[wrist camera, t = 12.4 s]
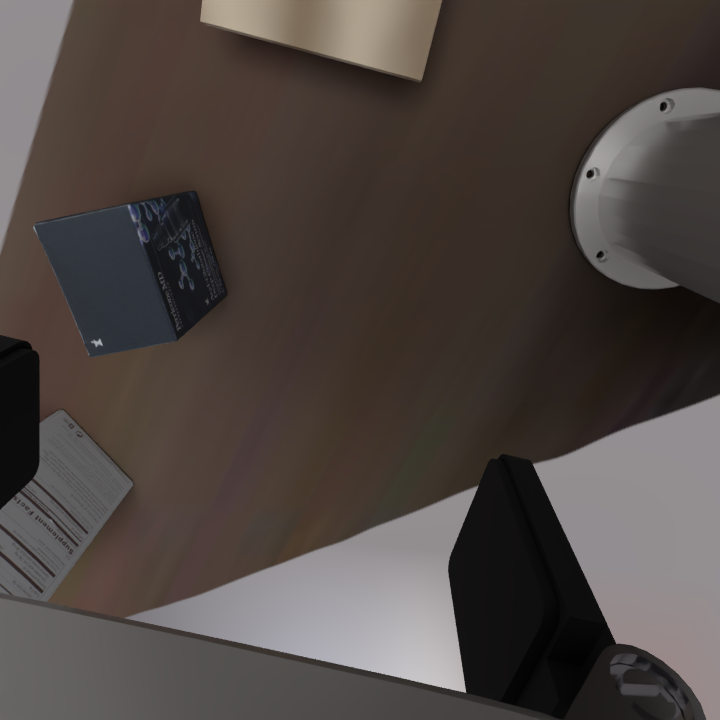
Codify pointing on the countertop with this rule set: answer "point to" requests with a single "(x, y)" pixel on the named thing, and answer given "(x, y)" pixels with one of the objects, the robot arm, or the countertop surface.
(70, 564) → the supplement box
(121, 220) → the box
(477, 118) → the countertop surface
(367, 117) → the countertop surface
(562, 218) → the countertop surface
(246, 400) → the countertop surface
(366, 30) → the lid
